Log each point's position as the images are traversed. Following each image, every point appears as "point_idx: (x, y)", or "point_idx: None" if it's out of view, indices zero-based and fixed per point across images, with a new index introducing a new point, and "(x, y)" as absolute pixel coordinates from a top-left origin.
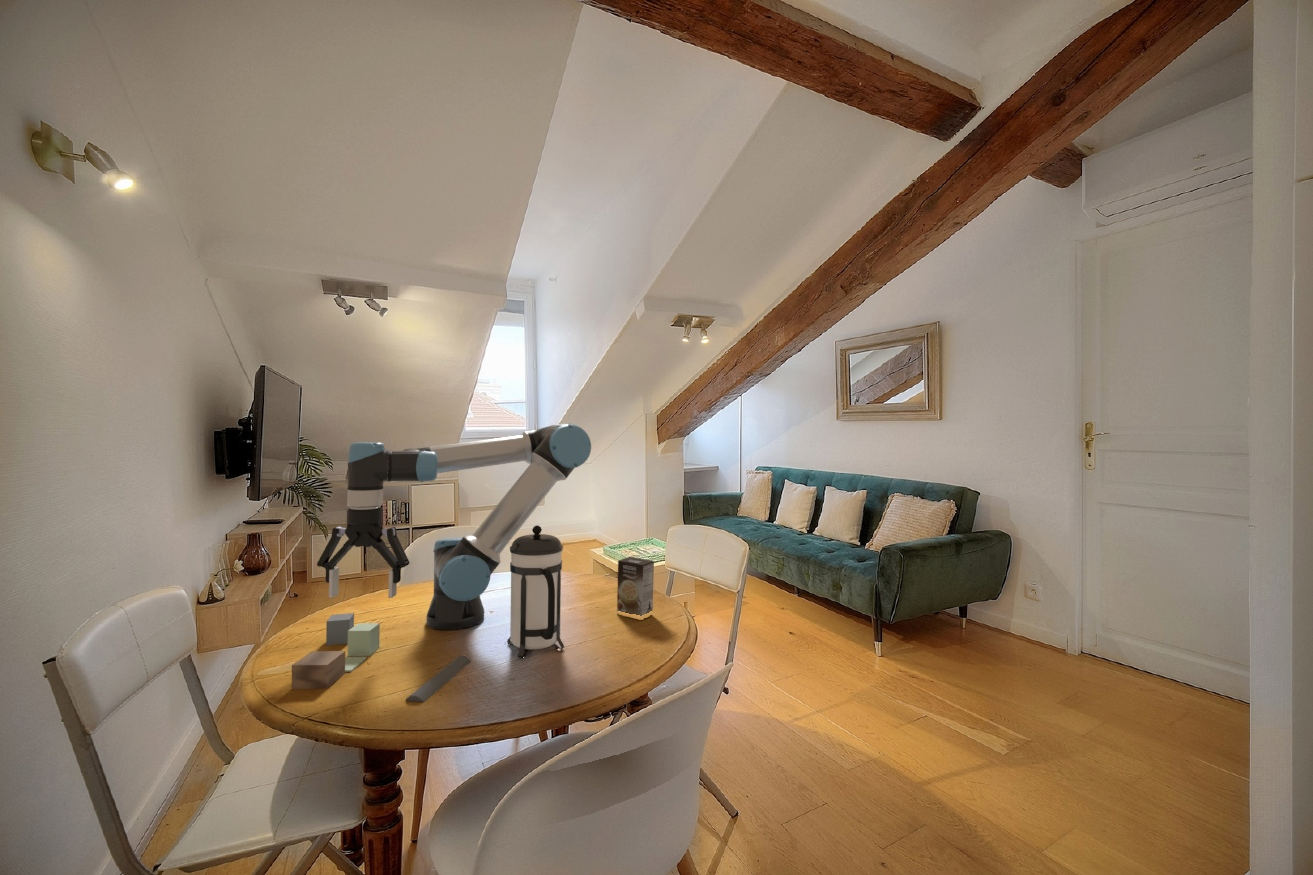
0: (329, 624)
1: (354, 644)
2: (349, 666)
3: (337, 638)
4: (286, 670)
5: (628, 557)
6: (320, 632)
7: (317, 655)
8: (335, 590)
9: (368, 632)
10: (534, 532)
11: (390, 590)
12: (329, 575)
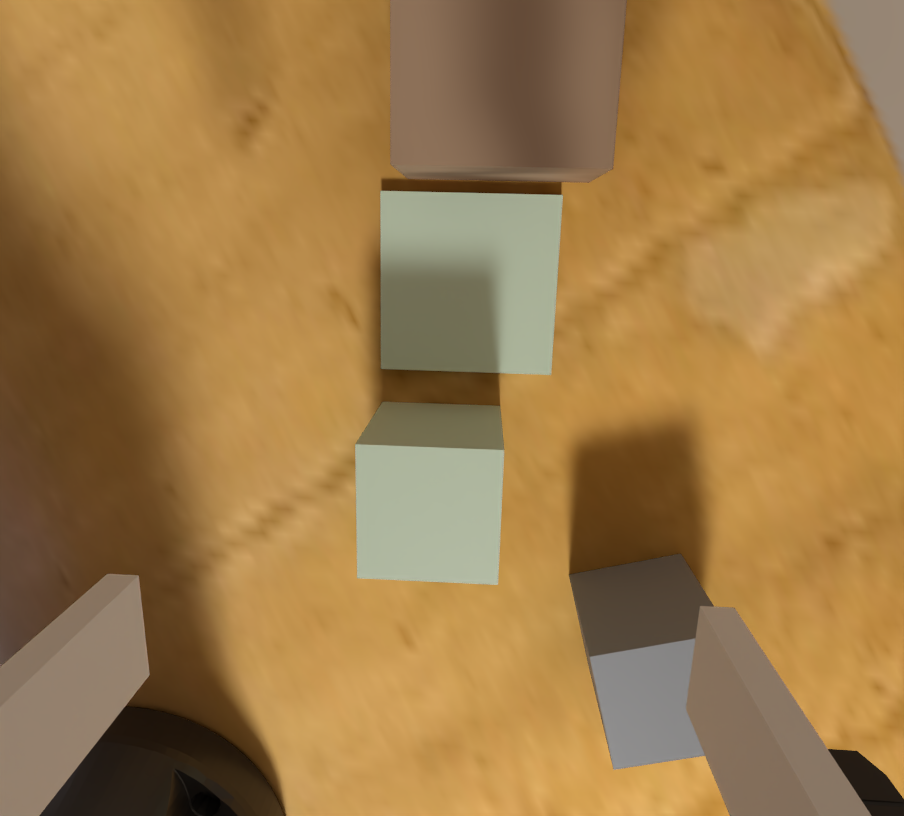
0: None
1: (461, 422)
2: (412, 241)
3: (633, 580)
4: (747, 232)
5: None
6: None
7: (540, 91)
8: (711, 702)
9: (367, 441)
10: None
11: (69, 618)
12: (864, 809)
